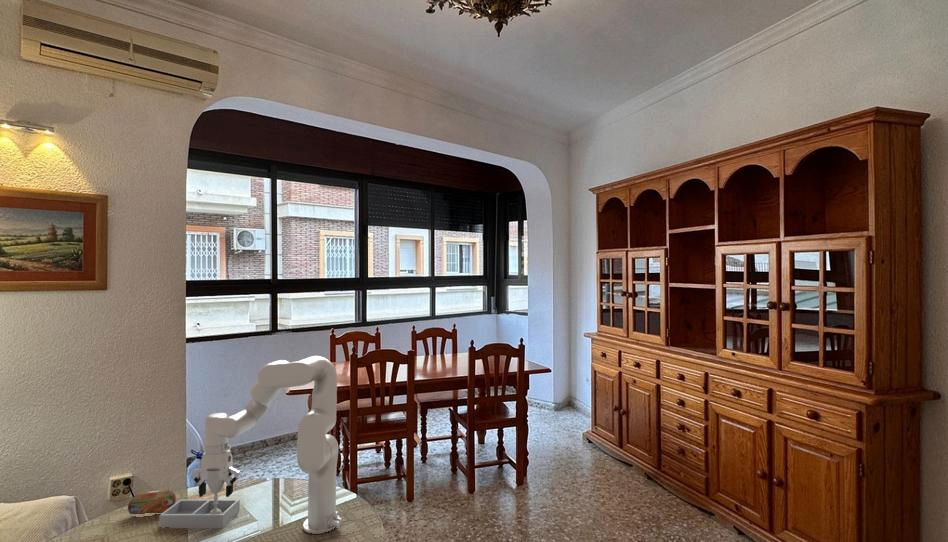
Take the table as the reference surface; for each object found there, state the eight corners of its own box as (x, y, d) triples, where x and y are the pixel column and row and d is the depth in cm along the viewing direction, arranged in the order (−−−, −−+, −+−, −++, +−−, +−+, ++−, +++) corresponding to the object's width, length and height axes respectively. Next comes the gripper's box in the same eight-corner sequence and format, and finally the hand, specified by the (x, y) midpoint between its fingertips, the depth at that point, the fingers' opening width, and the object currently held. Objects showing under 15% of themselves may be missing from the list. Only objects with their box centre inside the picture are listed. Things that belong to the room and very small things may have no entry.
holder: (239, 511, 173) (239, 499, 173) (222, 528, 162) (222, 515, 162) (180, 511, 173) (180, 499, 173) (159, 528, 162) (159, 515, 162)
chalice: (218, 522, 164) (220, 471, 164) (199, 521, 164) (201, 471, 164) (229, 511, 171) (231, 463, 171) (212, 511, 171) (213, 462, 172)
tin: (127, 519, 168) (127, 495, 168) (131, 514, 171) (131, 492, 171) (173, 513, 172) (174, 490, 172) (176, 509, 175) (177, 487, 175)
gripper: (245, 444, 172) (244, 490, 171) (199, 444, 172) (198, 490, 171) (234, 451, 164) (234, 500, 164) (186, 452, 164) (185, 500, 164)
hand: (215, 495), depth 168 cm, fingers open, 9 cm apart
